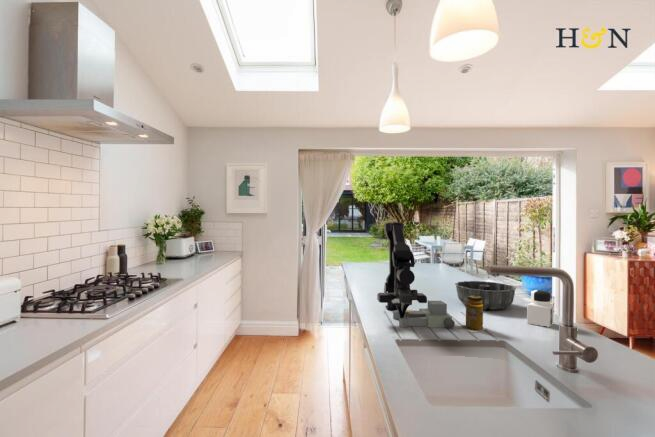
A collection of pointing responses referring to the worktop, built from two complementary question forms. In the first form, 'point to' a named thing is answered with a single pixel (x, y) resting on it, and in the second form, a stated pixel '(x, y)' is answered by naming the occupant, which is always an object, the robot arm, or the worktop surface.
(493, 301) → the bundt pan
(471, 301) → the condiment
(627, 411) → the worktop surface
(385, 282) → the robot arm
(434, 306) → the grey blocky piece
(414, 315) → the grey rectangular block
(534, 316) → the container
